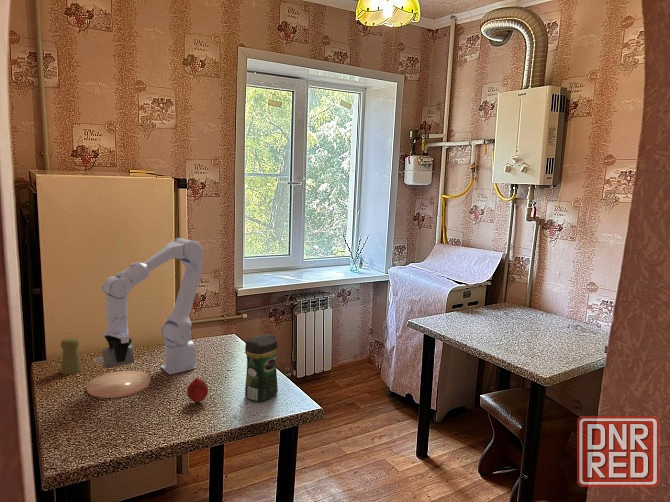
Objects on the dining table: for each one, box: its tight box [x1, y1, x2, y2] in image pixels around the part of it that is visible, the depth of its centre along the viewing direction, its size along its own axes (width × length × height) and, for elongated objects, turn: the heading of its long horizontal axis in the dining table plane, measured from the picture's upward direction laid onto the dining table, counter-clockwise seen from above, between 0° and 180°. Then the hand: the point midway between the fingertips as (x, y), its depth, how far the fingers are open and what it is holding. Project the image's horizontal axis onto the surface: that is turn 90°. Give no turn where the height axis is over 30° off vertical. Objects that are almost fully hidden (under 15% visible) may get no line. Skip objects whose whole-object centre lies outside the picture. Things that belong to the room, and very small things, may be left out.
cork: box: [60, 337, 82, 376], centre depth 156 cm, size 6×6×11 cm
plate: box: [86, 370, 151, 399], centre depth 148 cm, size 18×18×1 cm
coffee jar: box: [244, 333, 279, 403], centre depth 143 cm, size 10×8×19 cm
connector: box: [93, 343, 135, 369], centre depth 146 cm, size 11×4×5 cm, turn 131°
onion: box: [186, 375, 209, 404], centre depth 138 cm, size 6×6×8 cm
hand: (118, 359), depth 147 cm, fingers closed on connector, 4 cm apart
